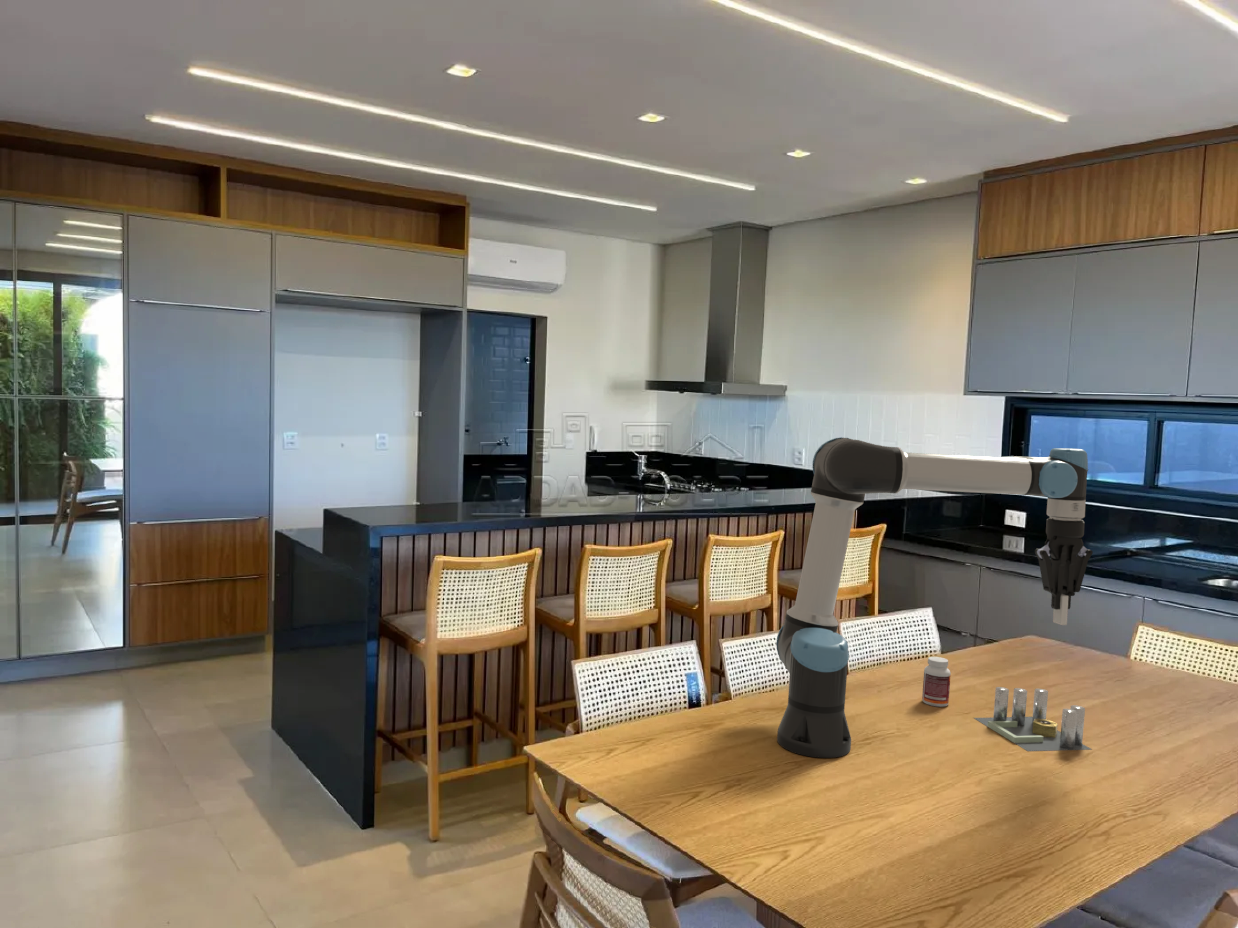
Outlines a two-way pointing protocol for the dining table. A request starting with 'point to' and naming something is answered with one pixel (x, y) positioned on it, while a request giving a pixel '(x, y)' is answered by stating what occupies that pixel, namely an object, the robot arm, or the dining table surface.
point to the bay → (999, 729)
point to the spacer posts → (1041, 714)
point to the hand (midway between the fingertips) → (1059, 623)
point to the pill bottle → (936, 682)
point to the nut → (1045, 728)
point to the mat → (1027, 730)
